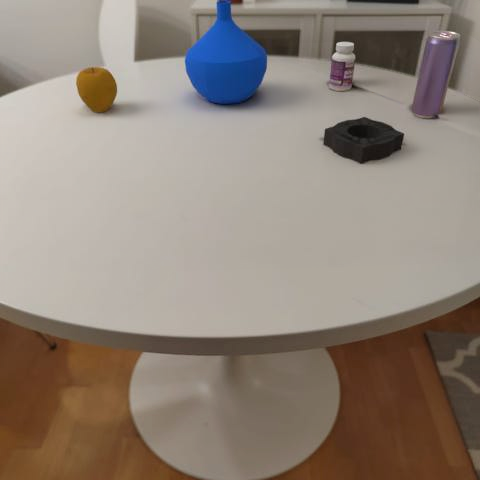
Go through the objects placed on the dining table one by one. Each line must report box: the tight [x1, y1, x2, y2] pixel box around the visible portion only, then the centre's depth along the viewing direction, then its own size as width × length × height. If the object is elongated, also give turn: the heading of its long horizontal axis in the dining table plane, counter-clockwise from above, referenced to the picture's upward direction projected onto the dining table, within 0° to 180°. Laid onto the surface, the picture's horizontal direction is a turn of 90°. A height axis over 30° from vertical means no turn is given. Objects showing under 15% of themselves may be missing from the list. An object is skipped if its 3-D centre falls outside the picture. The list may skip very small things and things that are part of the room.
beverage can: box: [410, 30, 461, 119], centre depth 91 cm, size 6×6×15 cm
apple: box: [75, 66, 118, 113], centre depth 100 cm, size 8×8×9 cm
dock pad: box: [323, 116, 405, 165], centre depth 84 cm, size 11×11×3 cm
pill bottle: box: [328, 41, 356, 92], centre depth 106 cm, size 5×5×10 cm
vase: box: [184, 0, 268, 105], centre depth 100 cm, size 18×18×19 cm
